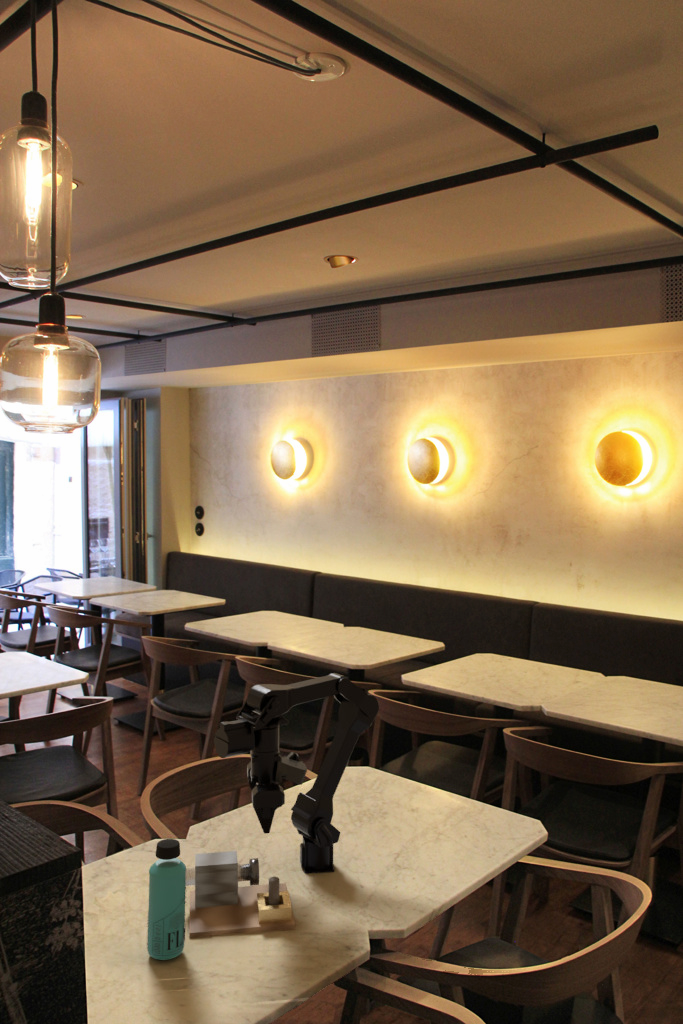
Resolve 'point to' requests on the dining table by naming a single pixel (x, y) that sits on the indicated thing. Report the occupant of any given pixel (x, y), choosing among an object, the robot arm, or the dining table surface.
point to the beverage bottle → (166, 902)
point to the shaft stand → (228, 899)
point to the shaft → (244, 873)
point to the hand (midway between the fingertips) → (264, 823)
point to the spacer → (274, 908)
